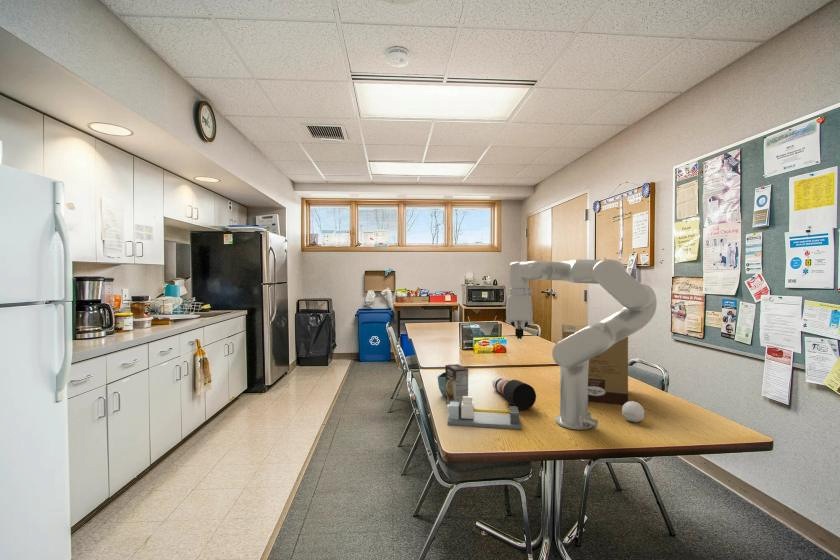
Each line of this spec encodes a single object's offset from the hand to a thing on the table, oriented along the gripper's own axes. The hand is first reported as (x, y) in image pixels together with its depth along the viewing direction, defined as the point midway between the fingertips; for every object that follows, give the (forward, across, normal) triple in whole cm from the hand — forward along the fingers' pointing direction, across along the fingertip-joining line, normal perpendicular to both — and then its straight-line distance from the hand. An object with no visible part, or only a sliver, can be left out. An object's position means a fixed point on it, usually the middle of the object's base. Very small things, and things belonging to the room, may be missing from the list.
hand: (519, 338), depth 148 cm
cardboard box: (+29, -35, -28) cm, 53 cm away
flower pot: (+29, +30, -16) cm, 45 cm away
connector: (+28, +25, +13) cm, 40 cm away
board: (+29, +14, +13) cm, 35 cm away
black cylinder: (+30, +4, -16) cm, 34 cm away
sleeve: (+27, +20, +13) cm, 37 cm away
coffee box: (+29, +26, -3) cm, 39 cm away
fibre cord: (+26, +13, +13) cm, 32 cm away
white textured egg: (+29, -41, +6) cm, 51 cm away
